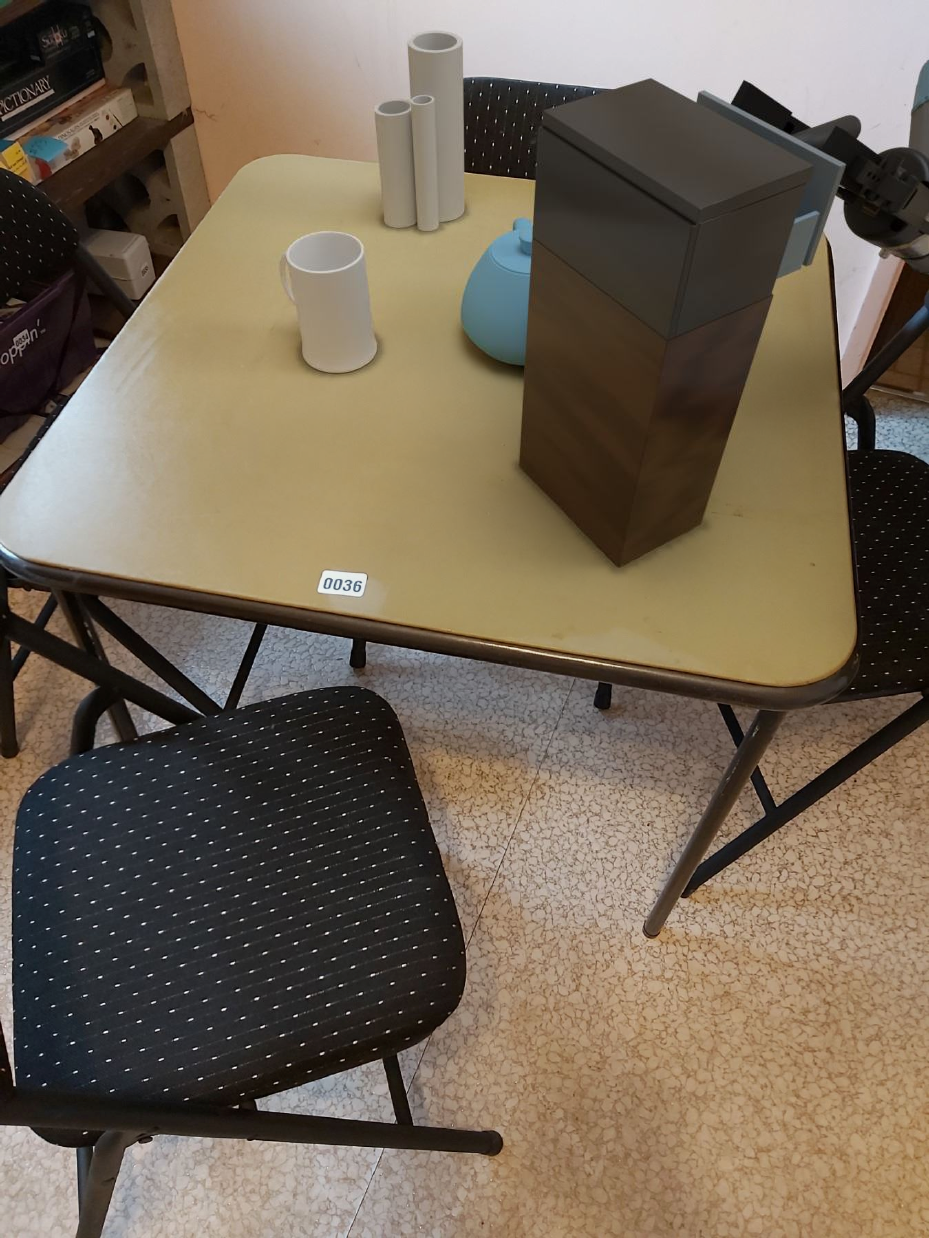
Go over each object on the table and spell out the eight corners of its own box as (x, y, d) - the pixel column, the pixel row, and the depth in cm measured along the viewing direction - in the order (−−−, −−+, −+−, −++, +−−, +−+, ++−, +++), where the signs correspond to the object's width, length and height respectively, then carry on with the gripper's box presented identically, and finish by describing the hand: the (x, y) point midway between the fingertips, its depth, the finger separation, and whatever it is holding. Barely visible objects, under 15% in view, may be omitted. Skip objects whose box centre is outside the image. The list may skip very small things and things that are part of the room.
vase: (445, 192, 117) (440, 26, 101) (476, 213, 114) (476, 45, 98) (377, 218, 113) (361, 49, 97) (406, 240, 110) (395, 69, 94)
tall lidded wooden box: (597, 429, 87) (650, 77, 61) (701, 524, 79) (815, 165, 53) (518, 465, 84) (539, 111, 58) (618, 568, 76) (695, 210, 50)
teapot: (453, 293, 102) (451, 189, 92) (614, 283, 104) (629, 179, 93) (470, 397, 91) (469, 291, 81) (651, 384, 92) (673, 277, 82)
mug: (268, 341, 97) (246, 242, 87) (323, 308, 101) (307, 210, 91) (337, 383, 92) (321, 284, 83) (392, 348, 96) (383, 249, 86)
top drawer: (773, 154, 72) (799, 60, 66) (903, 225, 65) (945, 126, 59) (591, 219, 66) (603, 121, 60) (714, 306, 59) (740, 204, 53)
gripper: (969, 300, 72) (858, 240, 57) (790, 197, 83) (656, 123, 67) (1037, 213, 68) (938, 124, 53) (840, 117, 79) (709, 19, 63)
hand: (780, 124), depth 60 cm, fingers open, 8 cm apart
